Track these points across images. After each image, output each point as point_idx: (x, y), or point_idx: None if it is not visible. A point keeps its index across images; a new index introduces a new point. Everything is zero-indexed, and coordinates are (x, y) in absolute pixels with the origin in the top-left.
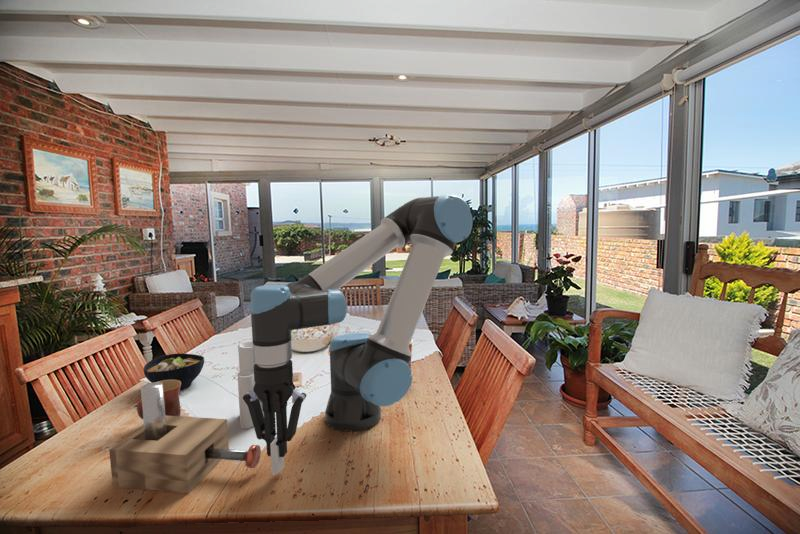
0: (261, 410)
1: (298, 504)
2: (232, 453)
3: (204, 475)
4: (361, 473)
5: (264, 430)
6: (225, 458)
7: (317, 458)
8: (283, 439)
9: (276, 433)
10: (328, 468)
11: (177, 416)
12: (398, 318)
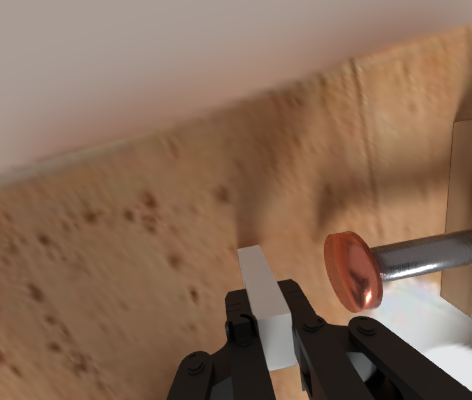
0: None
1: (114, 171)
2: (430, 252)
3: (452, 192)
4: (14, 336)
5: (367, 377)
6: (438, 235)
7: (182, 349)
8: (230, 355)
9: (301, 382)
10: (124, 324)
11: None
12: None
